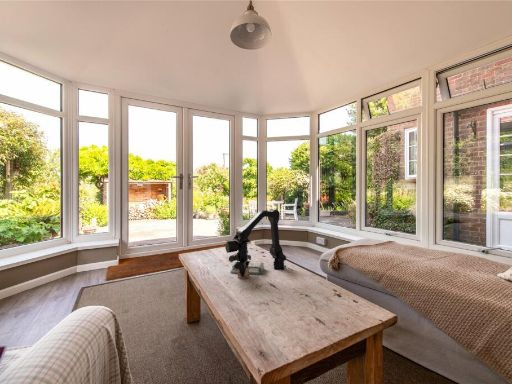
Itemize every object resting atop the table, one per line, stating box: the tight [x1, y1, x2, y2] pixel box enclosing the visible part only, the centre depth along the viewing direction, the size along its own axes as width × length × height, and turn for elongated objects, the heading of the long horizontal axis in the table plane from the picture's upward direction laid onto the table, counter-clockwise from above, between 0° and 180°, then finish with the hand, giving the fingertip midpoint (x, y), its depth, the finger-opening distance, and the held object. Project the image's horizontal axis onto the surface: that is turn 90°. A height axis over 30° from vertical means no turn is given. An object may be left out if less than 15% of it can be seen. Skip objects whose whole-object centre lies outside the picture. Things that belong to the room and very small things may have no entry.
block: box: [237, 268, 250, 280], centre depth 147 cm, size 6×4×5 cm
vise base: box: [230, 262, 265, 275], centre depth 157 cm, size 20×10×4 cm, turn 78°
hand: (243, 275), depth 147 cm, fingers closed on block, 4 cm apart
